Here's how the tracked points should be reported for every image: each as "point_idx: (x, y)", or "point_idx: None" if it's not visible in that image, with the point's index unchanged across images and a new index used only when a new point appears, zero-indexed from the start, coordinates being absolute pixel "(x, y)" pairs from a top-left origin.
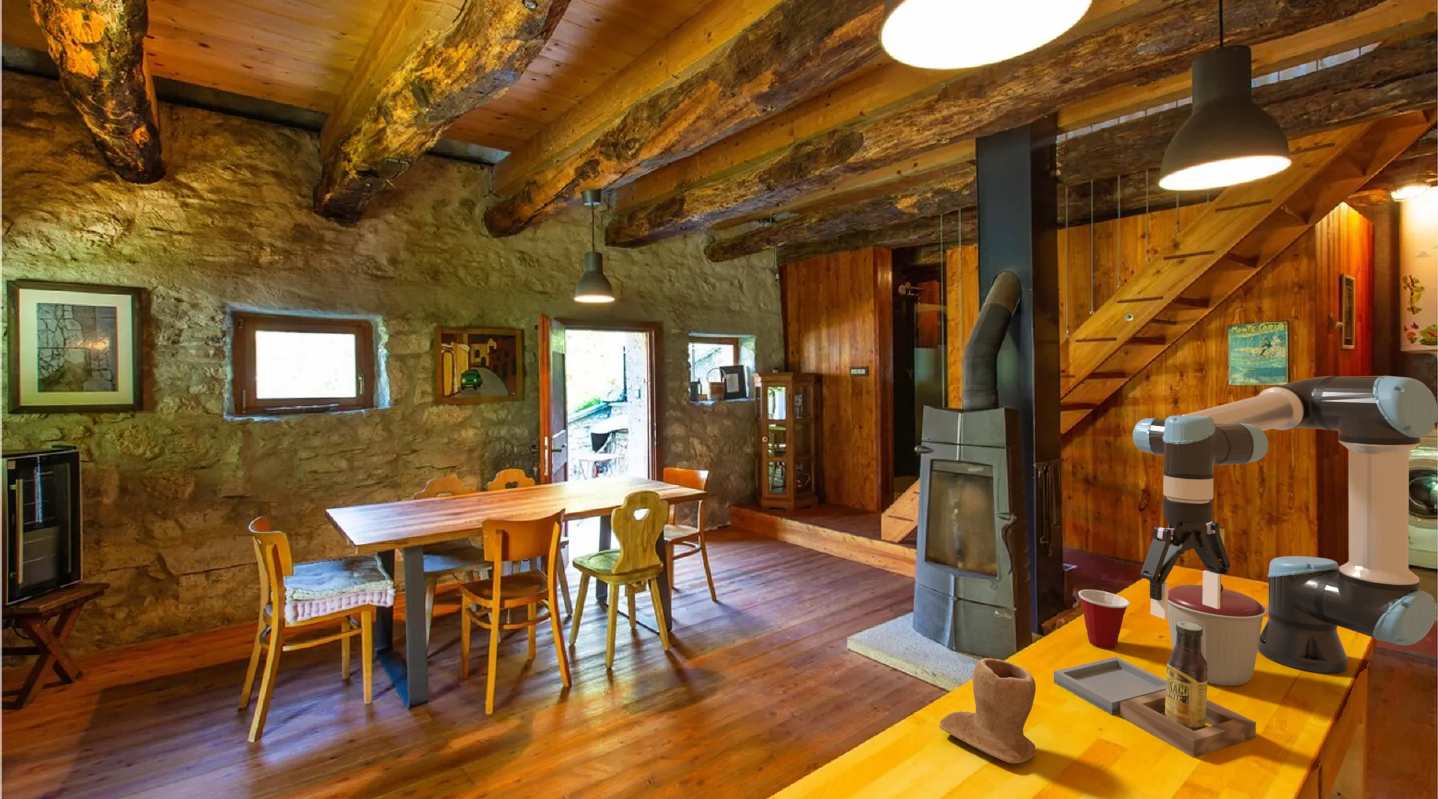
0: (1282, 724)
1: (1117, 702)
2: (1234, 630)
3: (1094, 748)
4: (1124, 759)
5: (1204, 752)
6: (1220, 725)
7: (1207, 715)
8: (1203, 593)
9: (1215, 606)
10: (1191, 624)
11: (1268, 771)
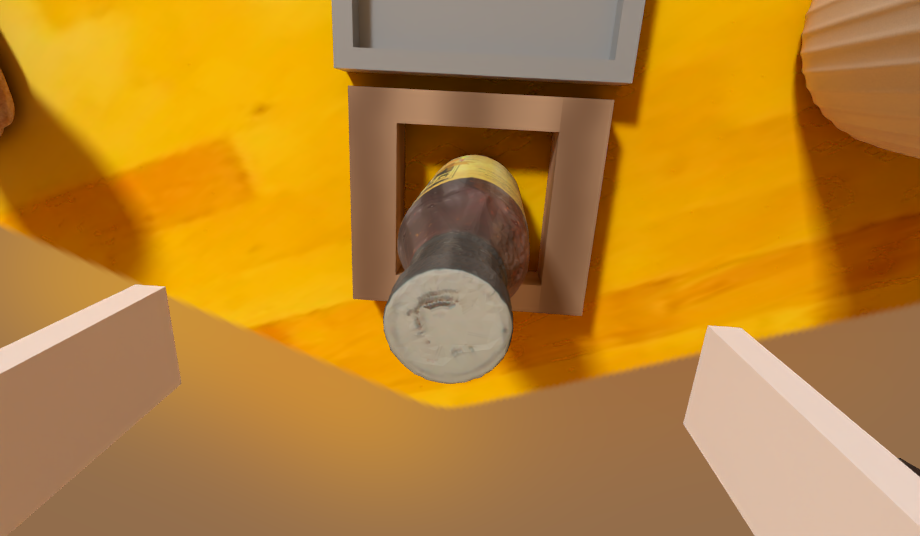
0: (704, 294)
1: (358, 69)
2: None
3: (181, 165)
4: (215, 224)
5: None
6: None
7: (546, 216)
8: (756, 384)
9: (691, 422)
10: (474, 327)
11: None
